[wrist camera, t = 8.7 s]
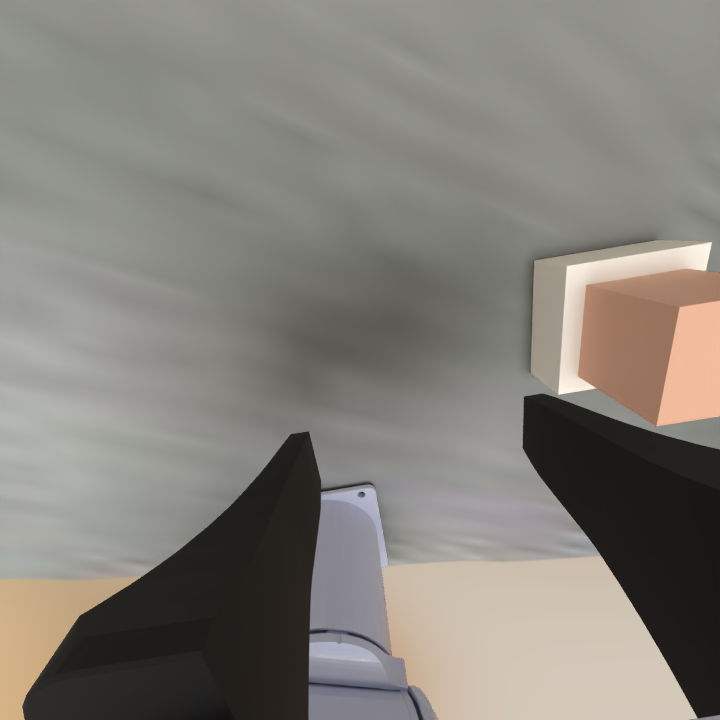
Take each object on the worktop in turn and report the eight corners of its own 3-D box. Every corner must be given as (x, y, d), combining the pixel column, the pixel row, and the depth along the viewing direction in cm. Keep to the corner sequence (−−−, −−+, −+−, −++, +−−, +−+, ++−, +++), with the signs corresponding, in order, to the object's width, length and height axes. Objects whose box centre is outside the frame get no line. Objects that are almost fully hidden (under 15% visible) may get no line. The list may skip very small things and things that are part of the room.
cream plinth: (530, 373, 22) (558, 394, 19) (534, 260, 19) (566, 266, 16) (639, 355, 22) (683, 374, 19) (657, 239, 19) (711, 242, 16)
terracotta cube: (577, 376, 19) (656, 426, 14) (586, 284, 17) (679, 307, 12) (669, 361, 19) (777, 407, 14) (687, 268, 17) (819, 284, 12)
